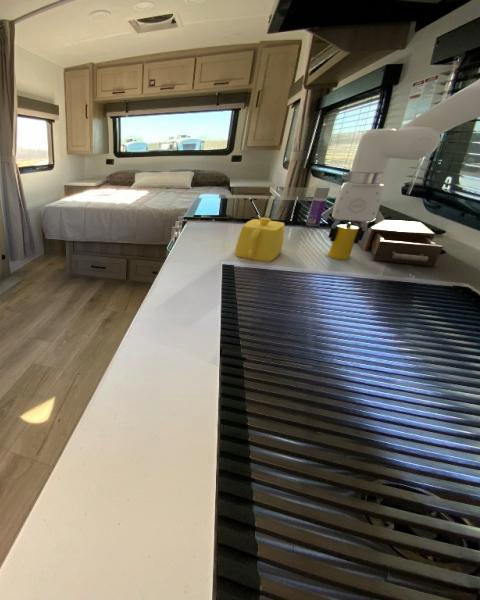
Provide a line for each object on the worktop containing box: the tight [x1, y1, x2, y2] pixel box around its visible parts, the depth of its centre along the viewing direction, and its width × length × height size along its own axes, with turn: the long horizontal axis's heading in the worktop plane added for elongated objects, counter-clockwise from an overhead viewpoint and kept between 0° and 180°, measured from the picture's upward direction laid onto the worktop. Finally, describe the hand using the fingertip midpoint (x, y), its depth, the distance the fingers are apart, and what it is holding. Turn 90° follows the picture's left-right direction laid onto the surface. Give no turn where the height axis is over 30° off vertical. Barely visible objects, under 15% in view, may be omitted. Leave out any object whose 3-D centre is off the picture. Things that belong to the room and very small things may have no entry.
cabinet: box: [358, 219, 436, 252], centre depth 107 cm, size 15×15×8 cm
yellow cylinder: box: [327, 221, 360, 260], centre depth 100 cm, size 5×5×11 cm
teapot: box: [235, 217, 285, 263], centre depth 107 cm, size 20×12×12 cm, turn 138°
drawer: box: [369, 232, 444, 267], centre depth 98 cm, size 18×13×6 cm
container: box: [305, 185, 331, 227], centre depth 134 cm, size 5×5×15 cm
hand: (343, 240), depth 100 cm, fingers closed on yellow cylinder, 5 cm apart
